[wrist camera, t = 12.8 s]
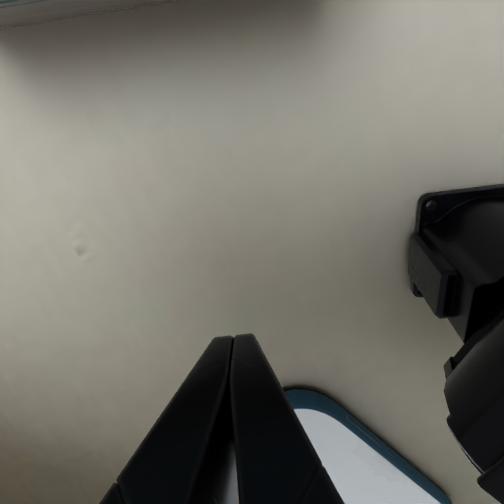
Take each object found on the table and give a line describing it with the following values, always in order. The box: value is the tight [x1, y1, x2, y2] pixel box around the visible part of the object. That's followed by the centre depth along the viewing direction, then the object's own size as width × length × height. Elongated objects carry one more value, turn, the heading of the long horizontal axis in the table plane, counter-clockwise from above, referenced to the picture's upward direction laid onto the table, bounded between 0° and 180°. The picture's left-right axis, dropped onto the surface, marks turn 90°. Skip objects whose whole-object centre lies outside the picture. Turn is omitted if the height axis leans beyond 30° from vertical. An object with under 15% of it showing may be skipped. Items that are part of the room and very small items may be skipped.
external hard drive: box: [285, 389, 452, 504], centre depth 32 cm, size 24×12×2 cm, turn 42°
